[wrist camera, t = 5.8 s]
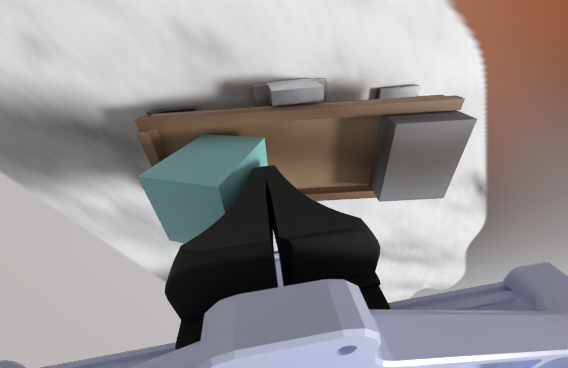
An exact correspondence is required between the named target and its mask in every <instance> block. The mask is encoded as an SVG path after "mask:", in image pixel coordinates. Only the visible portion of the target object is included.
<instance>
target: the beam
mask: <svg viewBox="0 0 568 368" xmlns="http://www.w3.org/2000/svg"><path fill="white" fill-rule="evenodd" d="M464 99H465V98H462V97H459V96H444V95H431V96H416V97H401V98H386V99H371V100H356V101H341V102H326V103H311V104H303V103H297V104H287V105H281V106H265V107H250V108H235V109H220V110H205V111H190V112H175V113H160V114H152V115H150V116H142V117H140V118H138V119H136V120H135V121H136V123H137V126H138V128H139V130H140V131H138V132H137V134H138V136H139V139H140V141H141V143H142V145H143V147H144V150H145V152H146V154H147V156H148V158H149V161H150V163H151V165H152V167H153V166H155V165H156V164H158V163H159V162H161V161H162V160H164V159H165V158H167V157H169V156H170V155H172V154H173V153H175V152H176V151H178V150H180V149H181V148H183V147H184V146H186V145H187V144H189V143H191V142H192V141H194V140H195V139H197V138H198V137H200V136H201V135H203V134H211V135H228V136H245V137H262V138H265V146H266V154H267V163H268V166H269V165H275V166H276V167H277V169H278V170H279V171H280V173H281V174H282V175H283V176H284V177H285V178H286V179H287V180H288V181H289V182H290V183H291V184H292V185H293V186H294V187H295V188H297V189H298V190H299V191H300V192H302V193H303V194H304V195H306V196H307V197H309V198H311V199H312V200H314V201H322V200H340V199H359V198H377V199H378V200H379V201H398V200H417V199H435V198H444V196H445V193H446V191H447V189H448V186H449V184H450V182H451V179H452V177H453V175H454V172H455V170H456V168H457V165H458V163H459V160H460V158H461V156H462V153H463V151H464V149H465V146H466V144H467V142H468V139H469V137H470V135H471V132H472V130H473V128H474V125H475V123H476V121H477V119H476V118H473V117H471V116H469V115H466V114H464V113H461V112H459V111H457V110H461V107H462V104H463V102H464Z"/></svg>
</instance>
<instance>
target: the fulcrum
mask: <svg viewBox="0 0 568 368" xmlns="http://www.w3.org/2000/svg"><path fill="white" fill-rule="evenodd" d="M252 87H253V95H254V103H255V107H265V106H281V105H287V104H297V103H303V104H311V103H326V87H327V79H325V78H322V79H311V78H304V79H294V80H283V81H272V82H267V84H257V85H252ZM419 89H420V86H419V85H407V86H396V87H386V88H377V94H376V99H386V98H401V97H416V96H418V93H419ZM190 111H197V110H196V106H192V107H182V108H172V109H161V110H151V111H149V112H147V114H148V116H150V115H152V114H160V113H175V112H190Z"/></svg>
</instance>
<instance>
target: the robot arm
mask: <svg viewBox="0 0 568 368" xmlns="http://www.w3.org/2000/svg"><path fill="white" fill-rule="evenodd" d="M273 231H274V235H275V239H276V243H277V247H278V252H279V253H276V254H274V248H273ZM379 255H380V245H379V242H378V240H377V239H376V237H375V236H374V234H373V233H372V231H371V230H370V229H369V227H368V226H367V225H366V224H365V223H364V222H363V220H362V219H361V218H358V217H354V216H351V215H348V214H344V213H341V212H338V211H336V210H333V209H331V208H328V207H326V206H324V205H322V204H320V203H318V202H316V201H314V200H312V199H311V198H309V197H307V196H306V195H304V194H303V193H302V192H300V191H299V190H298V189H297V188H295V187H294V186H293V185H292V184H291V183H290V182H289V181H288V180H287V179H286V178H285V177H284V176H283V175H282V174H281V173H280V171H279V170H278V169H277V167H276V166H275V165H269V166H262V167H255V168H254V169H253V171H252V174H251V176H250V179H249V181H248V182H247V184H246V186H245V188H244V190H243V191H242V193H241V194H240V196H239V197H238V199H237V200H236V201H235V203H234V204H233V205H232V206H231V207H230V209H229V210H228V211H227V212H226V213H225V214H224V215H223V216H222V217H221V218H219V219H218V220H217V221H216V222H215V223H214V224H212V225H211V226H210V227H209V228H207V229H206V230H205V231H203V232H202V233H201V234H199V235H198V236H196V237H194V238H193V239H191V240H190V241H188V242H187V243H185V244H183V245H182V246H181V247H180V249H179V251H178V253H177V255H176V257H175V260H174V262H173V265H172V267H171V271H170V274H169V277H168V280H167V283H166V286H165V294H166V297H167V299H168V301H169V302H170V304H171V305H172V307H173V308H174V310H175V311H176V313H177V314H178V316H179V317H180V319H181V324H180V328H179V333H178V337H177V341H176V343H171V344H165V345H160V346H154V347H149V348H143V349H138V350H133V351H127V352H122V353H117V354H111V355H106V356H101V357H95V358H90V359H85V360H79V361H74V362H68V363H63V364H58V365H52V366H47V367H41V368H568V276H567V275H565V274H564V273H563V272H561V271H560V270H559V269H557V268H556V267H554V266H553V265H552V264H550V263H549V262H541V263H535V264H530V265H525V266H520V267H517V268H514V269H513V270H511V271H510V272H509V273H508V274H507V275H506V276H505V278H504V280H503V282H498V283H493V284H487V285H482V286H477V287H471V288H466V289H461V290H455V291H450V292H445V293H439V294H434V295H428V296H423V297H417V298H412V299H407V300H401V301H396V302H391V303H388V302H387V300H386V298H385V297H384V295H383V293H382V291H381V289H380V287H379V285H380V280H379V278H378V276H377V274H376V273H375V270H376V266H377V263H378V259H379ZM0 368H26V367H24V366H23V365H21V364H19V363H17V362H14V361H6V360H3V361H0Z"/></svg>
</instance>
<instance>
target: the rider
mask: <svg viewBox="0 0 568 368" xmlns="http://www.w3.org/2000/svg"><path fill="white" fill-rule="evenodd" d="M262 166H268V163H267V154H266V146H265V138H262V137H245V136H228V135H211V134H203V135H201V136H200V137H198V138H197V139H195V140H194V141H192V142H191V143H189V144H187V145H186V146H184V147H183V148H181V149H180V150H178V151H176V152H175V153H173V154H172V155H170V156H169V157H167V158H165V159H164V160H162V161H161V162H159V163H158V164H156V165H155V166H153V167H151V168H150V169H148V170H147V171H145V172H144V173H142V174H140V175H139V176H137V177H138V179H139V181H140V183H141V185H142V187H143V189H144V191H145V193H146V195H147V197H148V198H149V200H150V202H151V204H152V206H153V208H154V210H155V212H156V214H157V216H158V218H159V220H160V222H161V224H162V226H163V228H164V230H165V232H166V234H167V236H168V238H169V240H171V241H176V242H180V243H187V242H188V241H190V240H191V239H193V238H194V237H196V236H198V235H199V234H201V233H202V232H203V231H205V230H206V229H207V228H209V227H210V226H211V225H212V224H214V223H215V222H216V221H217V220H218V219H219V218H221V217H222V216H223V215H224V214H225V213H226V212H227V211H228V210H229V209H230V207H231V206H232V205H233V204H234V203H235V201H236V200H237V199H238V197H239V196H240V194H241V193H242V191H243V190H244V188H245V186H246V184H247V182H248V181H249V179H250V176H251V174H252V171H253V169H254V168H255V167H262Z"/></svg>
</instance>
